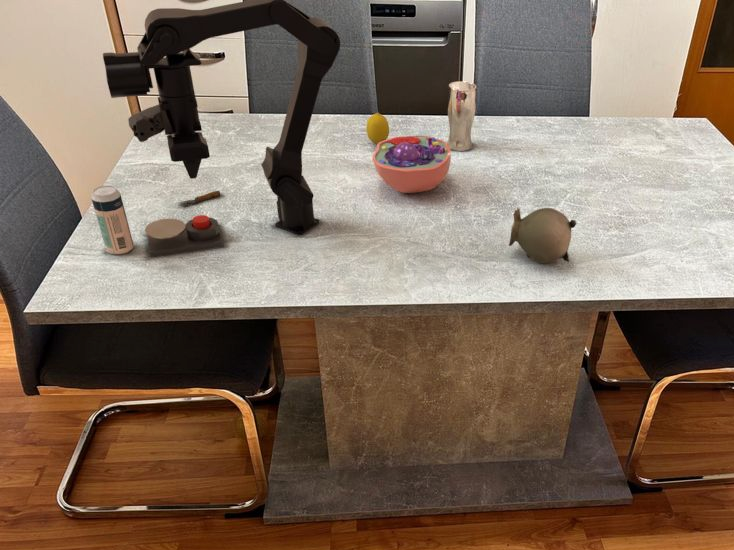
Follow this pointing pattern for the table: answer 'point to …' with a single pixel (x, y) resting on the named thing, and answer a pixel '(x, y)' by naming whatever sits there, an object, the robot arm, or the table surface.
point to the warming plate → (165, 228)
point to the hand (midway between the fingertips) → (193, 177)
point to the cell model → (412, 162)
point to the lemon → (377, 128)
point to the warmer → (187, 240)
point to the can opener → (202, 197)
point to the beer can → (112, 219)
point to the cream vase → (461, 114)
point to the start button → (201, 222)
